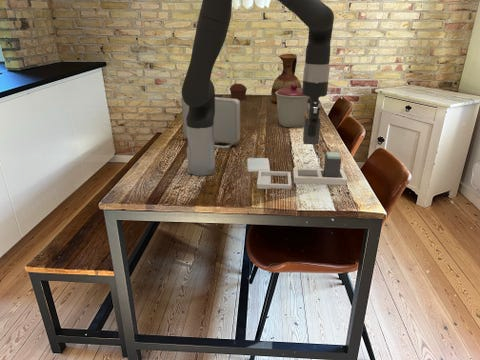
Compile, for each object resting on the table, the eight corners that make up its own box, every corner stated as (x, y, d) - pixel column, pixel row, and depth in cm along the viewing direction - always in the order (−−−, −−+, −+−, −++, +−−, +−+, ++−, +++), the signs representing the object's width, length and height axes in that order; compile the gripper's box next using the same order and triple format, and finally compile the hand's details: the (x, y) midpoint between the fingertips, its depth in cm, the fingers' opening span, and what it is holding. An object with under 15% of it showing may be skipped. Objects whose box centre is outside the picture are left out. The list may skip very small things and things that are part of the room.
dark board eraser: (324, 181, 118) (327, 156, 114) (323, 176, 122) (325, 151, 118) (338, 182, 117) (341, 157, 113) (336, 176, 121) (339, 152, 117)
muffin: (249, 98, 241) (249, 83, 237) (243, 101, 232) (243, 86, 228) (233, 96, 245) (233, 82, 241) (226, 100, 236) (226, 84, 232)
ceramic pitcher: (266, 104, 224) (268, 54, 212) (276, 98, 241) (278, 51, 229) (297, 107, 217) (300, 55, 205) (304, 100, 234) (308, 52, 222)
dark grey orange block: (303, 144, 113) (305, 116, 109) (302, 139, 117) (305, 112, 113) (318, 144, 112) (320, 116, 109) (316, 140, 117) (319, 113, 113)
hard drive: (247, 158, 137) (247, 170, 126) (268, 158, 137) (270, 170, 126) (247, 162, 138) (247, 174, 127) (268, 162, 138) (270, 174, 127)
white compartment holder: (293, 185, 117) (294, 177, 116) (292, 175, 125) (293, 167, 123) (346, 188, 116) (347, 179, 114) (342, 177, 123) (343, 169, 122)
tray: (256, 190, 114) (256, 184, 114) (258, 176, 124) (258, 170, 123) (291, 191, 113) (291, 185, 113) (290, 177, 123) (290, 171, 122)
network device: (181, 142, 157) (178, 97, 149) (191, 136, 165) (188, 93, 156) (234, 149, 149) (234, 102, 140) (242, 143, 156) (242, 97, 148)
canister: (280, 131, 172) (282, 87, 164) (269, 121, 189) (271, 80, 180) (315, 129, 176) (319, 85, 167) (302, 119, 192) (304, 79, 183)
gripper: (301, 75, 113) (298, 127, 120) (304, 83, 100) (300, 140, 107) (325, 75, 112) (320, 127, 120) (331, 83, 100) (325, 141, 107)
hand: (311, 133), depth 113 cm, fingers closed on dark grey orange block, 4 cm apart
